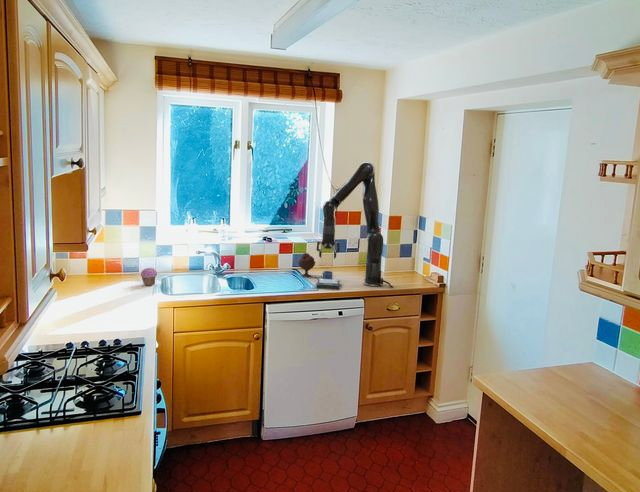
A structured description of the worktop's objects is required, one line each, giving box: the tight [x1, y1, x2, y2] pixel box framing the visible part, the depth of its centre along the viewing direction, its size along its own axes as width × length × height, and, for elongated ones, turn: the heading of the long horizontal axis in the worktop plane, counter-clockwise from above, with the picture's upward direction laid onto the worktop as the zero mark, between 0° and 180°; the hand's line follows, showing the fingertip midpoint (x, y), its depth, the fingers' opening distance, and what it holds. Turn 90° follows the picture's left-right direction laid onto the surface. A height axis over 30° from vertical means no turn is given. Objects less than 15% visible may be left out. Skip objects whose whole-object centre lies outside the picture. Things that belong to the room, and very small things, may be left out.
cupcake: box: [140, 267, 158, 287], centre depth 269 cm, size 9×9×10 cm
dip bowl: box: [321, 270, 334, 279], centre depth 293 cm, size 6×6×5 cm
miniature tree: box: [297, 252, 316, 278], centre depth 302 cm, size 11×11×15 cm
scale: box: [316, 278, 340, 290], centre depth 280 cm, size 13×13×3 cm
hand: (327, 258), depth 291 cm, fingers open, 8 cm apart
